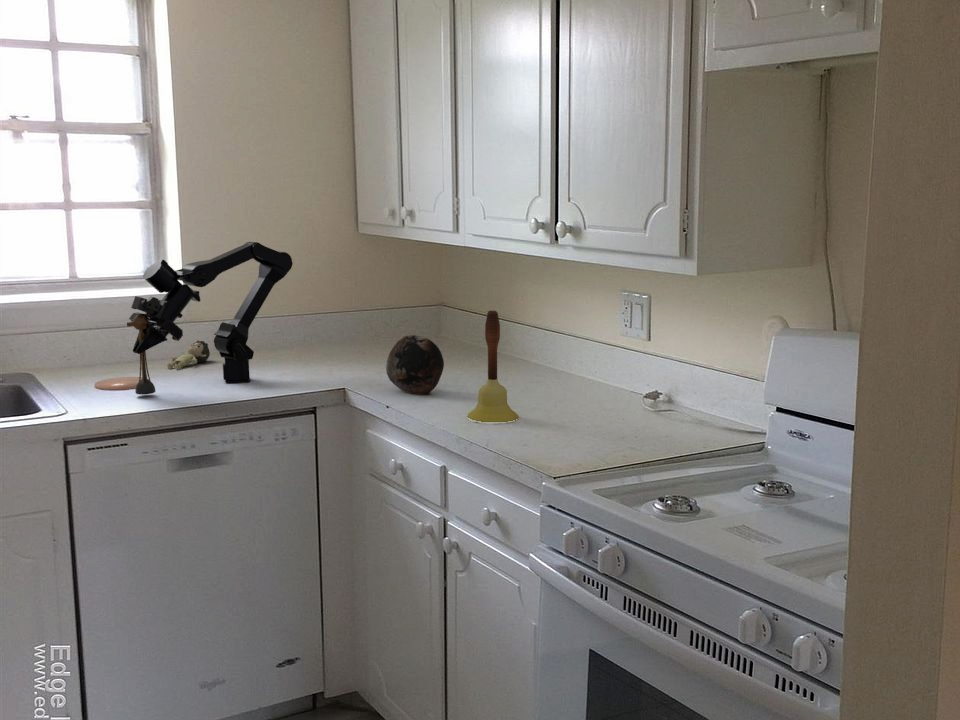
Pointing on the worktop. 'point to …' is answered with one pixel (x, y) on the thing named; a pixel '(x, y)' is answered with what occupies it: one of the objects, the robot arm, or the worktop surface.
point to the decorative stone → (415, 364)
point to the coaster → (118, 383)
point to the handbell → (492, 381)
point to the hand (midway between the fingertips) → (135, 352)
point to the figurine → (191, 355)
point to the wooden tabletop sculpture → (142, 358)
